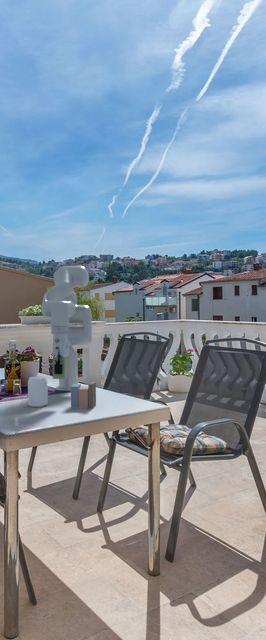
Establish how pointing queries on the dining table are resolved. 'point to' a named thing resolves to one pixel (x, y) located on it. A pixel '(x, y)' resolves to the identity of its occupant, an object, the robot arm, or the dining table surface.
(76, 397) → the blue book
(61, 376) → the olive book
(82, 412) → the dining table surface
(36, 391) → the beverage can
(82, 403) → the terracotta book
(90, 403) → the walnut bookend
